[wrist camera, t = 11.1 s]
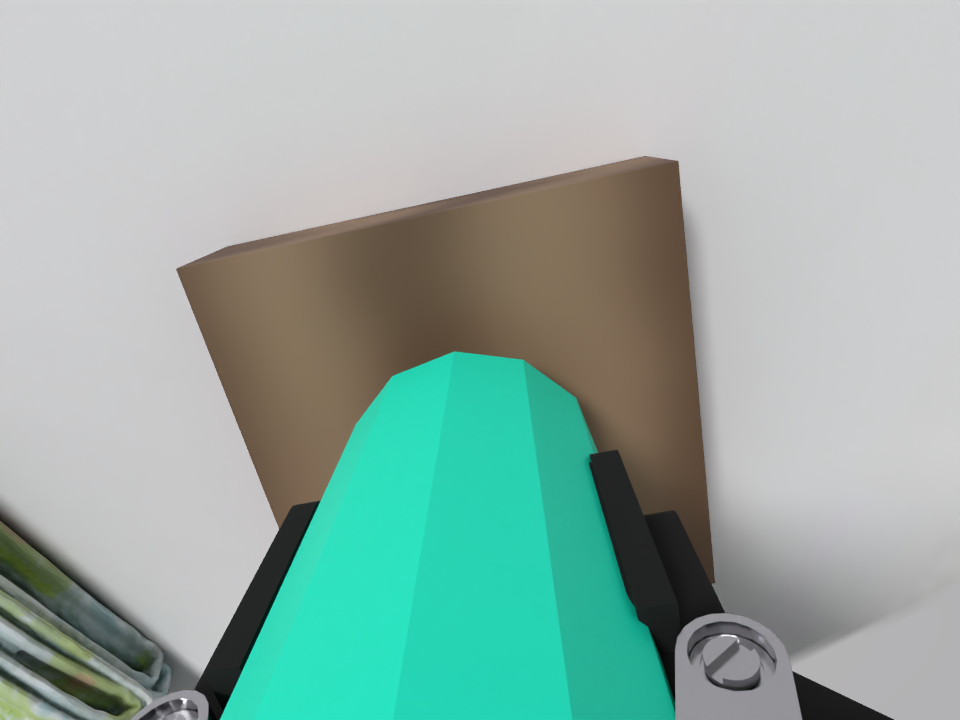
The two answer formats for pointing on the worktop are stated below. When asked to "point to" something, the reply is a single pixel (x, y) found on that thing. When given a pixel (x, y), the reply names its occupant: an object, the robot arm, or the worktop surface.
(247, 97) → the worktop surface
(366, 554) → the candle
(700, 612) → the robot arm
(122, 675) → the towel
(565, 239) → the walnut base
